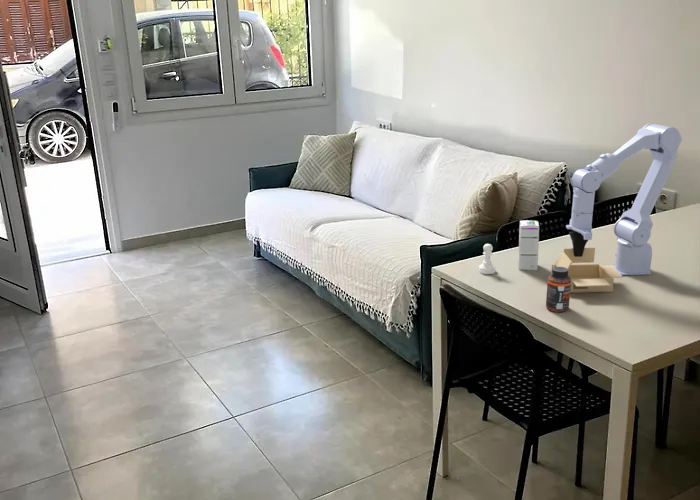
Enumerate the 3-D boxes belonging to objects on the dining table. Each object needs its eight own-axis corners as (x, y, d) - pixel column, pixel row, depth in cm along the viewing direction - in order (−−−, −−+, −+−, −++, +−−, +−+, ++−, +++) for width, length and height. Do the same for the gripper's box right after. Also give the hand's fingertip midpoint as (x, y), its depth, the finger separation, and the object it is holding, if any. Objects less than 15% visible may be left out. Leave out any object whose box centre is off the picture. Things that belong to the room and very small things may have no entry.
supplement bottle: (565, 314, 172) (568, 274, 168) (542, 310, 175) (545, 270, 171) (571, 306, 177) (574, 267, 173) (549, 302, 180) (552, 263, 176)
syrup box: (537, 270, 202) (540, 225, 197) (518, 270, 203) (520, 225, 198) (536, 264, 207) (539, 220, 202) (517, 263, 208) (519, 219, 204)
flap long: (556, 264, 193) (563, 251, 192) (564, 275, 185) (572, 262, 184) (554, 264, 193) (562, 250, 192) (563, 275, 185) (571, 261, 183)
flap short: (593, 261, 194) (594, 247, 193) (593, 262, 194) (595, 248, 192) (562, 262, 194) (563, 248, 193) (562, 263, 194) (564, 248, 192)
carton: (608, 276, 196) (609, 263, 194) (629, 298, 180) (630, 284, 179) (551, 277, 196) (551, 264, 195) (566, 299, 181) (567, 285, 180)
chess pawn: (480, 274, 201) (481, 247, 198) (477, 268, 205) (478, 241, 202) (496, 274, 200) (497, 246, 197) (493, 268, 205) (494, 241, 202)
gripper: (561, 205, 196) (557, 248, 200) (575, 218, 182) (571, 264, 186) (584, 204, 195) (580, 248, 200) (601, 218, 182) (596, 264, 186)
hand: (577, 255), depth 193 cm, fingers closed, pressing on flap short
